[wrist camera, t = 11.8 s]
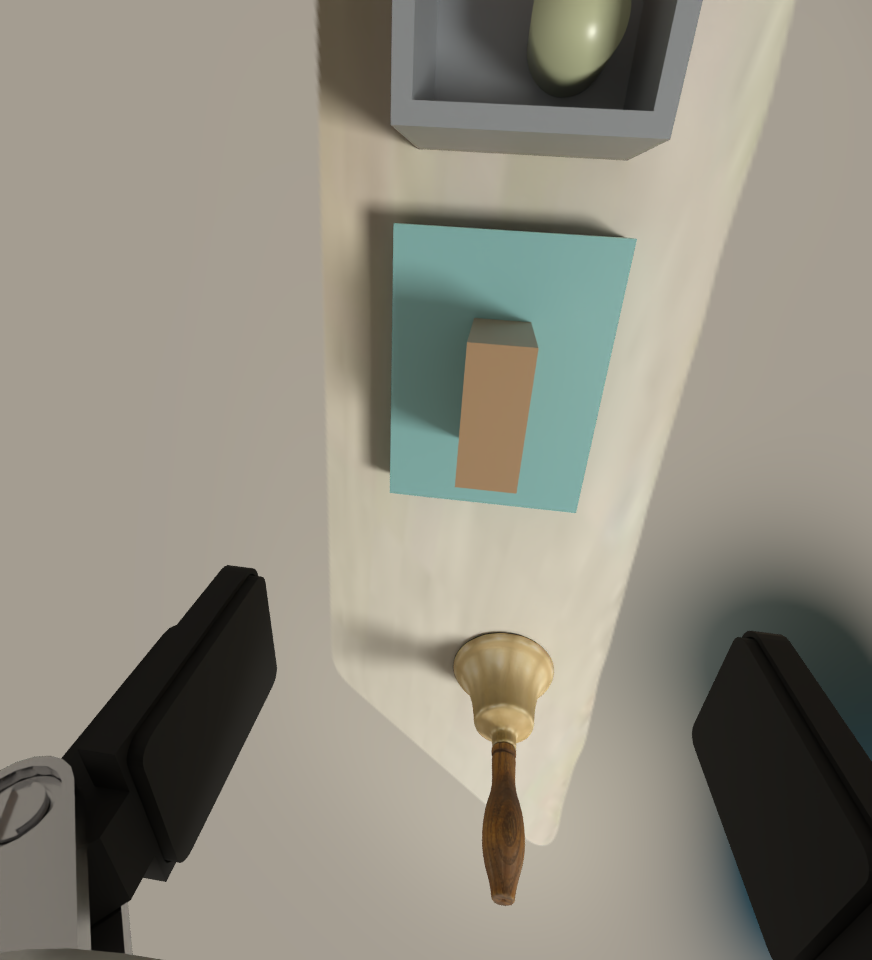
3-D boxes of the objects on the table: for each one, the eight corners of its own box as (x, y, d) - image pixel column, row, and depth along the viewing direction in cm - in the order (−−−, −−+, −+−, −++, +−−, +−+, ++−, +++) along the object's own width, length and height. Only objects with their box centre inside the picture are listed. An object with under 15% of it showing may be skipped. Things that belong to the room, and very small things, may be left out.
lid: (402, 223, 27) (363, 223, 19) (625, 237, 26) (675, 243, 18) (397, 475, 34) (367, 546, 26) (570, 493, 33) (591, 573, 25)
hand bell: (563, 695, 42) (594, 934, 28) (470, 707, 44) (455, 935, 30) (540, 624, 39) (562, 853, 24) (440, 640, 41) (408, 861, 27)
